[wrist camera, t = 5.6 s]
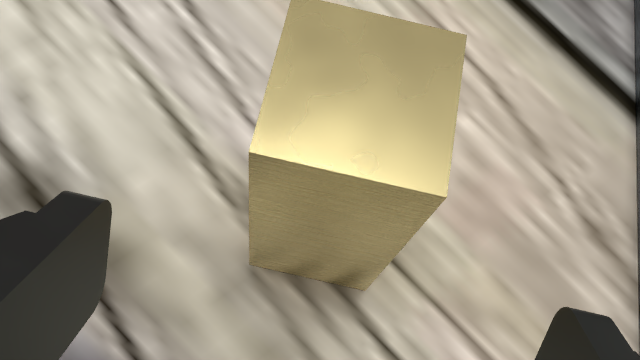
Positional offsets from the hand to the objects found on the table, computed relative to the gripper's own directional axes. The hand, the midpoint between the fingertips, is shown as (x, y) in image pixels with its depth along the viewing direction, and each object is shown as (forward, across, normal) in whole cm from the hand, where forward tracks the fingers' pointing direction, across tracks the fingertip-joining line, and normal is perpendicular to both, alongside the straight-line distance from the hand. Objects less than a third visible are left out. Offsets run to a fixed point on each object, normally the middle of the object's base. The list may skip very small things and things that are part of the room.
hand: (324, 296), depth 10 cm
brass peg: (+10, 0, +3) cm, 10 cm away
